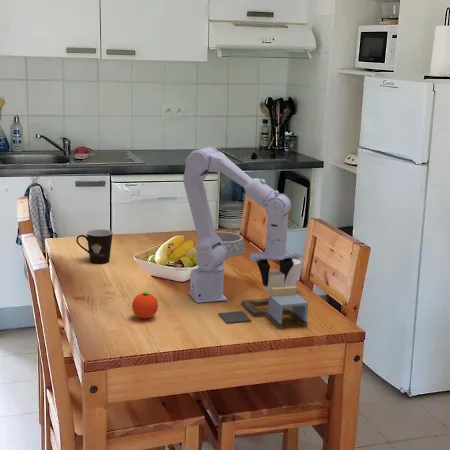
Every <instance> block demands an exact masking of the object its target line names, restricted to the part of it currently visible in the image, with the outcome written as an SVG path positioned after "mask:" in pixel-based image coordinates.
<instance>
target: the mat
mask: <svg viewBox="0 0 450 450" xmlns="http://www.w3.org/2000/svg"><path fill="white" fill-rule="evenodd" d="M218 316H219V317H220V318H221V319H222V320H223V321H224V323H225V324H226V325H227V324H228V325H229V324H236V323H237V324H238V323H251V322H252V320H251V318H249V317H248V316H247V314H246V313H244V311H242V310H239V311H236V310H235V311H225V312H218Z"/></svg>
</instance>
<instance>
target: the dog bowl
mask: <svg viewBox="0 0 450 450" xmlns="http://www.w3.org/2000/svg"><path fill="white" fill-rule="evenodd" d="M215 232H216V234H217V235H218V236H219V237H220V238H221V241H222V244H223V245H224V246H225V248H226V249H227V253H228V256H227V258H228V257H230V258H231V257H237V256H241V255H243V254H245V253H246V247H245V239H244V237H243V236H242V234H239V233H235V232H229V231H218V230H217V231H216V230H215Z"/></svg>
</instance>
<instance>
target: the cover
mask: <svg viewBox="0 0 450 450" xmlns="http://www.w3.org/2000/svg"><path fill="white" fill-rule="evenodd" d="M297 289H298V288H297V286H296V287H295V286H289V287H275V288H271V293H270V294H269V295H268V298H269V304H268V305H267V307H268V308H267V309H268V313H269V314H270V315H271V316H272V317H273V318H274V319H275V320H276V321H277V322H278V323H279V324H280V323H282V324H283V314H282V312H283V308H285V307H293V308H292V311H293V312H294V313H296V314H297V315H298V316H299V317H300V318H301V319H302V320H304V321H307V322H308V310H309V302H308V301H307V300H306V299H305V298H303V297H302V296H301V295H299V294H298V293H297Z"/></svg>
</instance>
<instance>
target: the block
mask: <svg viewBox="0 0 450 450" xmlns="http://www.w3.org/2000/svg"><path fill="white" fill-rule="evenodd" d="M284 277H285V275H284V274H283V273H282V272H281V271H280V269H269V274H268V285H267V286H264V285H263V284H262V288H263V289H264V290H265V291H266V292H267V293H268V294H269V293H270V294H271V288H275V287H284Z"/></svg>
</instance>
